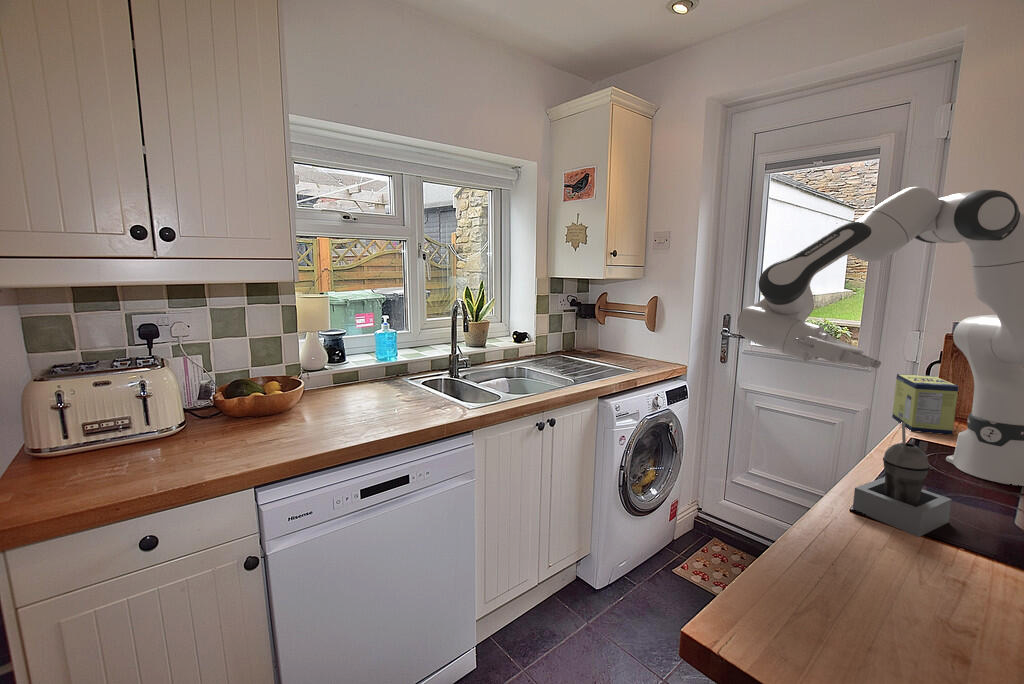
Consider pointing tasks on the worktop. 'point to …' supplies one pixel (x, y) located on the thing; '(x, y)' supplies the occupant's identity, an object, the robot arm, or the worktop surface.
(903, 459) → the beverage cup
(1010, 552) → the worktop surface
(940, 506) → the holder block
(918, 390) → the protein box
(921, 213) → the robot arm
